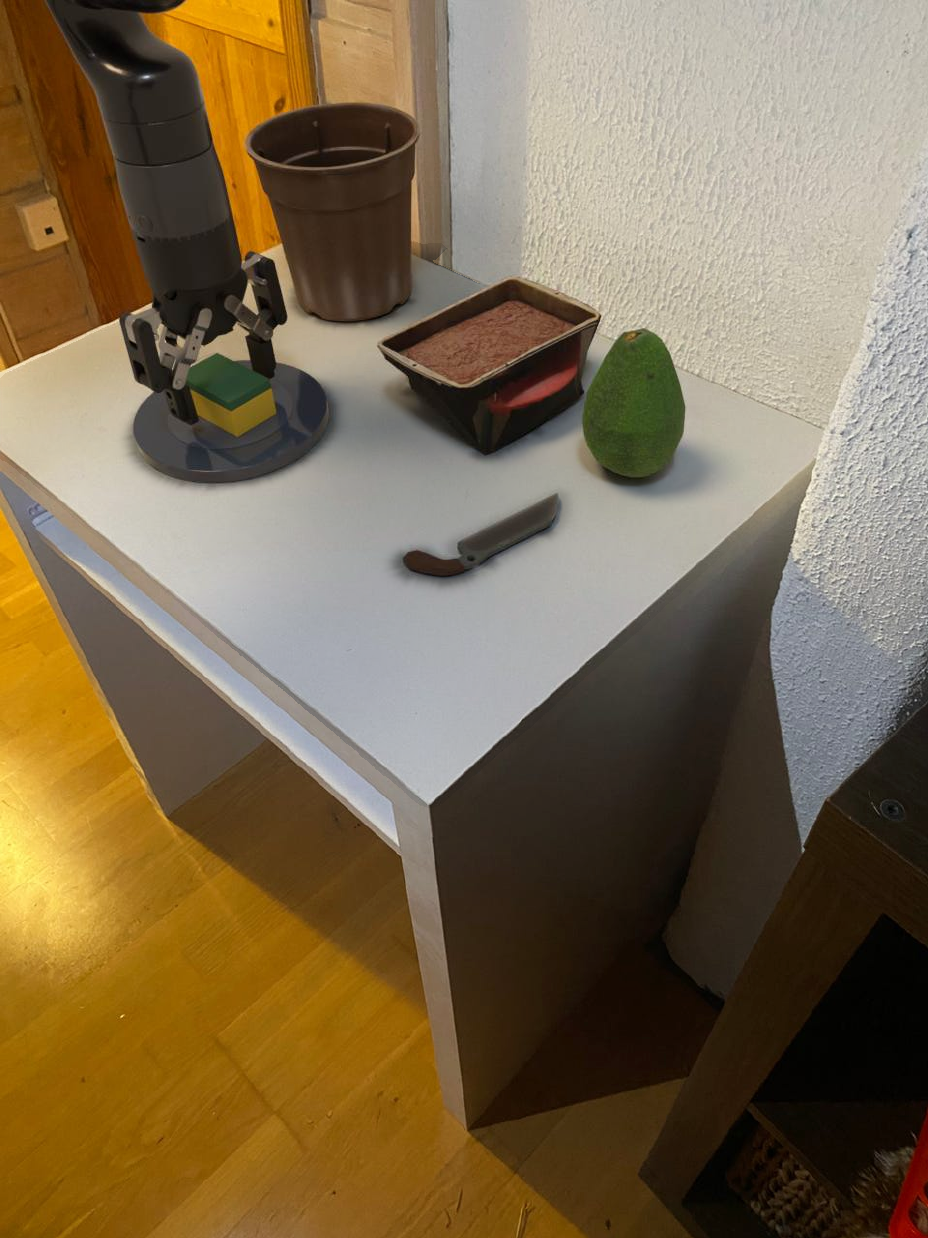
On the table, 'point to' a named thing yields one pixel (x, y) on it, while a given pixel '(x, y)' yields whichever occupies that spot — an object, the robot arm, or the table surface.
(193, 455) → the plate
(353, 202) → the plant pot
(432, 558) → the knife
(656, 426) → the avocado
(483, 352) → the baking dish
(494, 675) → the table surface
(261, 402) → the sponge
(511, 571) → the table surface
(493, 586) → the table surface
